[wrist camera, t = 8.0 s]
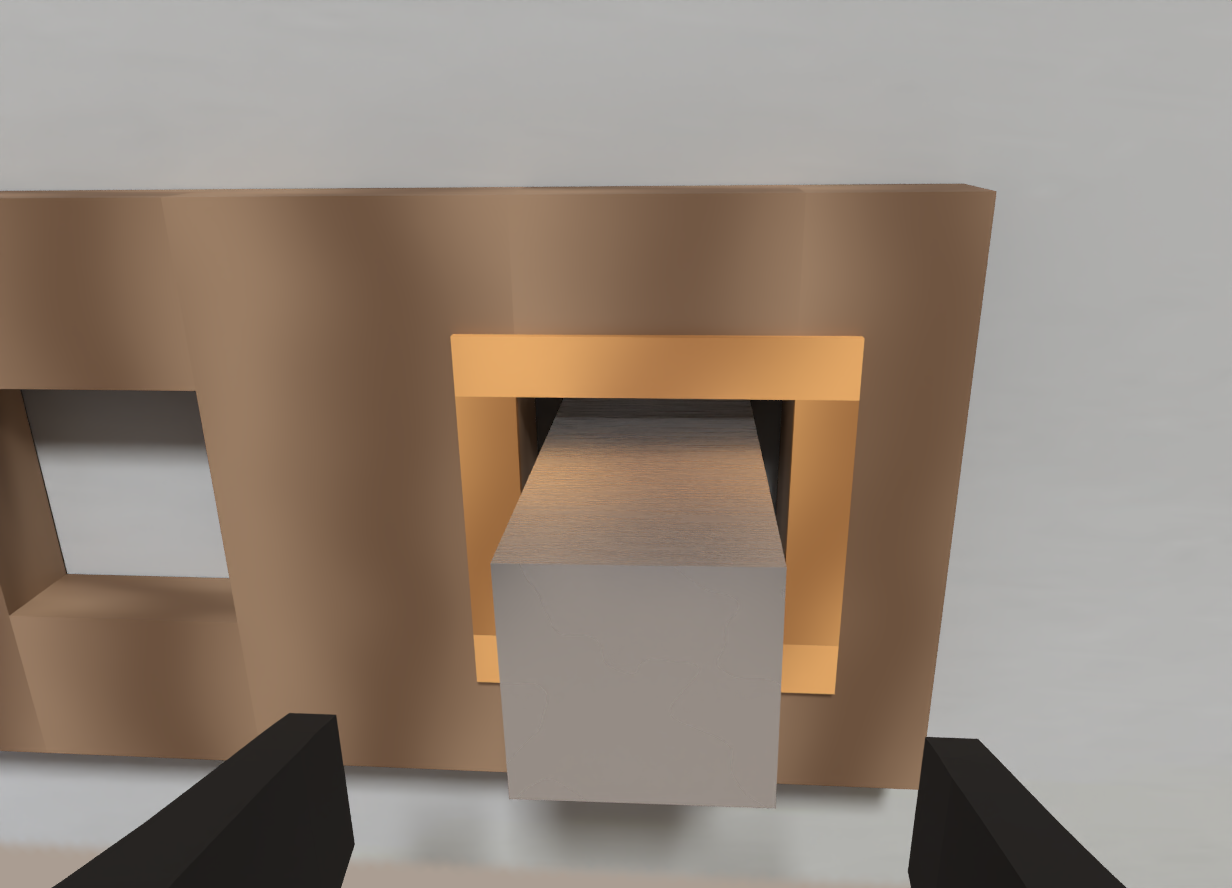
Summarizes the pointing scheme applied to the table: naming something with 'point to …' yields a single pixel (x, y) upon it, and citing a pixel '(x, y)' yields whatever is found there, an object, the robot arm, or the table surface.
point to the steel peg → (643, 609)
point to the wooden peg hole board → (475, 443)
